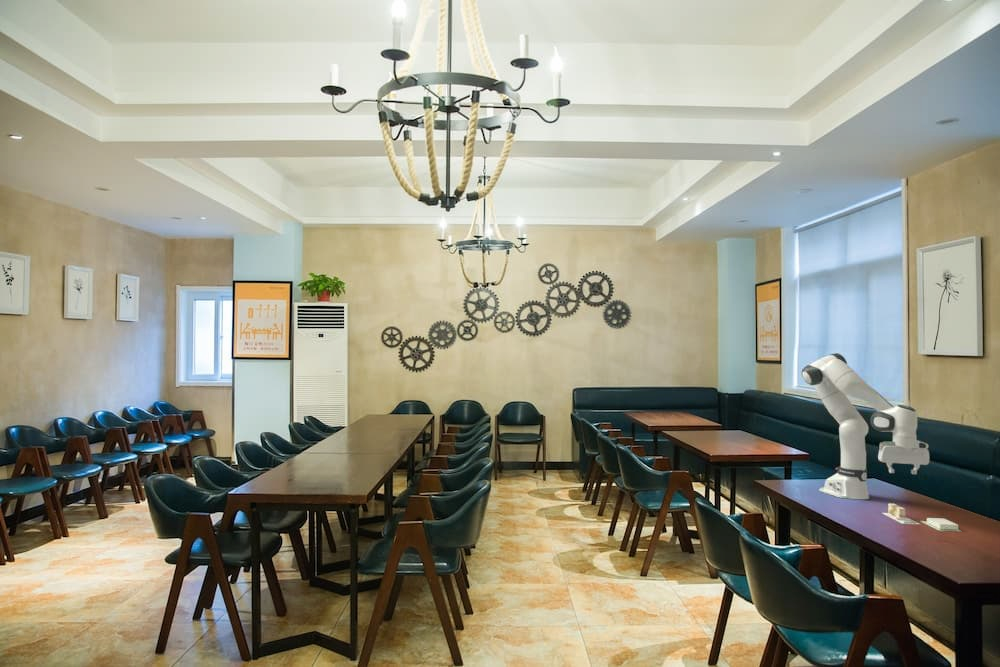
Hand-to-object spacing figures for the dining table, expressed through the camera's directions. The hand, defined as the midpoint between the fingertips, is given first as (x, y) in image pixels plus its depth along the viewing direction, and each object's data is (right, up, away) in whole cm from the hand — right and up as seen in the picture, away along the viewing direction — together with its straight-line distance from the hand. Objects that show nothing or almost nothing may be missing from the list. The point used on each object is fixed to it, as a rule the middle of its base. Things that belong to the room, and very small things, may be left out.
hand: (902, 473), depth 276 cm
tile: (+6, -17, -12) cm, 22 cm away
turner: (-5, -18, -6) cm, 20 cm away
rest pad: (-5, -19, -6) cm, 20 cm away
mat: (+6, -19, -15) cm, 25 cm away
